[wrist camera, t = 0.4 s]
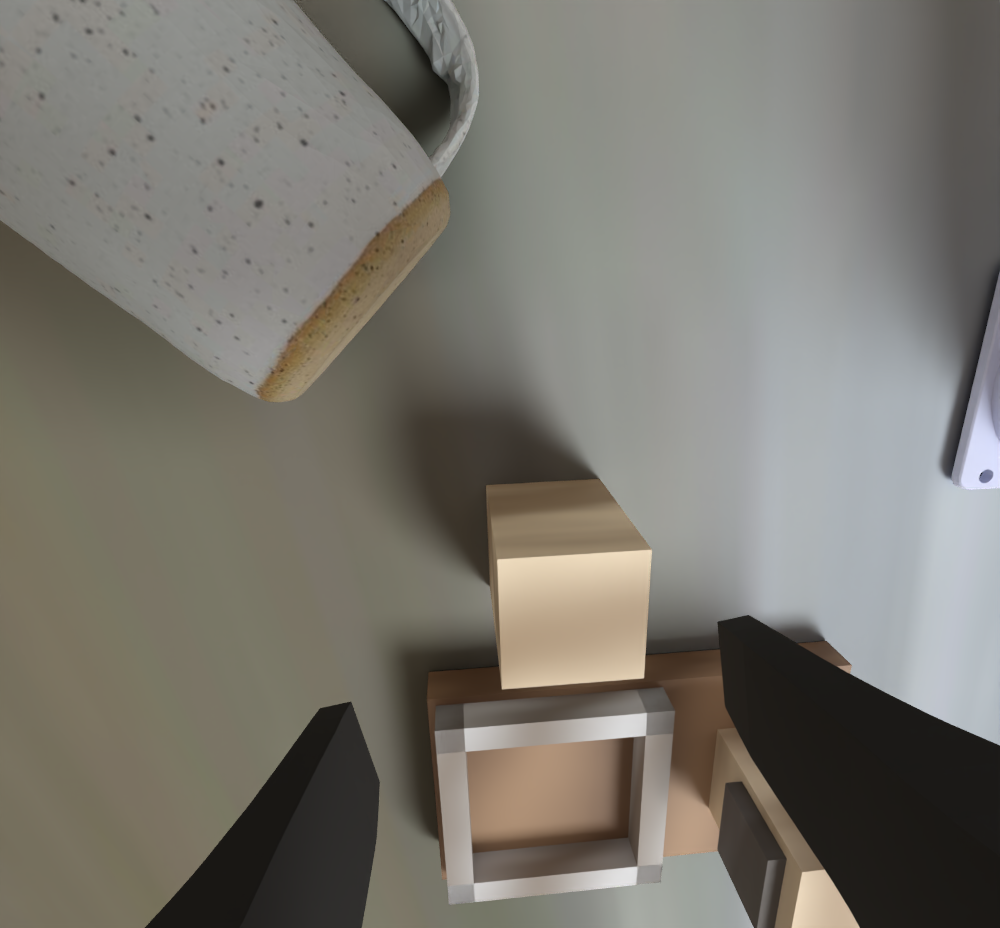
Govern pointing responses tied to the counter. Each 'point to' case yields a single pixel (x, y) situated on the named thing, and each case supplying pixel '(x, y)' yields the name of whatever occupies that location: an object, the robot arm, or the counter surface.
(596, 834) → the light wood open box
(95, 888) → the counter surface
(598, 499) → the tan square block
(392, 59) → the counter surface
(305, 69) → the ceramic mug
